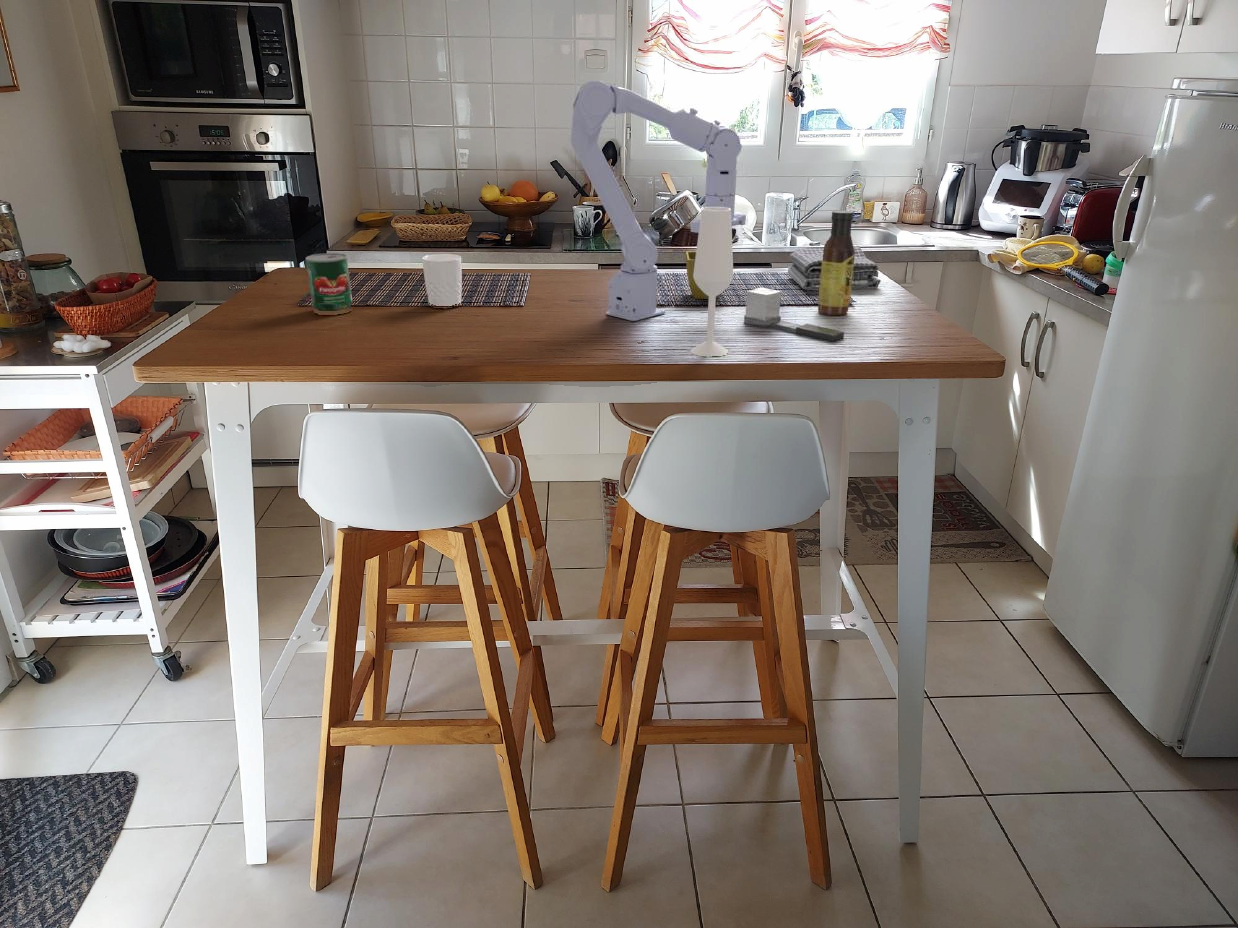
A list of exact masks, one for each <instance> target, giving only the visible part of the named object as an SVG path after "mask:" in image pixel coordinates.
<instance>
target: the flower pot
mask: <svg viewBox="0 0 1238 928" xmlns="http://www.w3.org/2000/svg"><path fill="white" fill-rule="evenodd" d="M695 258H696V251H686V252H685V259H686V277H687V281H688V285H689V290H690V293H691V295H692V297H693V298H694V299H695V300H701V299H702V300H704V299H705V300H709V296H708V295H706V294H705V293H704V292H703V291H702V290H701V289H700V288H699V287H698V286H697V284H696V283H695V281H694V278H693V273H694V265H695ZM720 296H721V294H719V295H717V296H716V298H717V299H718V298H719V297H720Z"/></svg>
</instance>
